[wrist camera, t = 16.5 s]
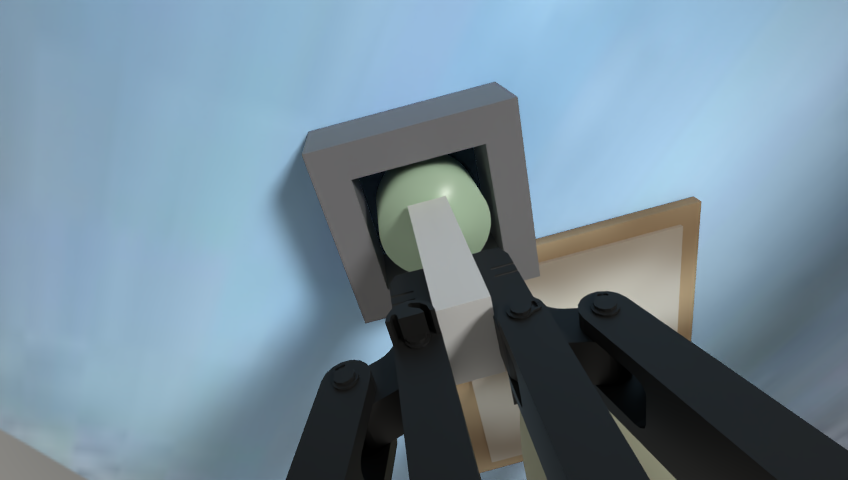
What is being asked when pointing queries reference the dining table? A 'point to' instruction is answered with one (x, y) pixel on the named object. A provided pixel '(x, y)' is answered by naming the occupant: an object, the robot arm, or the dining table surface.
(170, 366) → the dining table surface
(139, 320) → the dining table surface
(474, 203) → the button
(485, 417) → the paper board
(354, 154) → the button housing
